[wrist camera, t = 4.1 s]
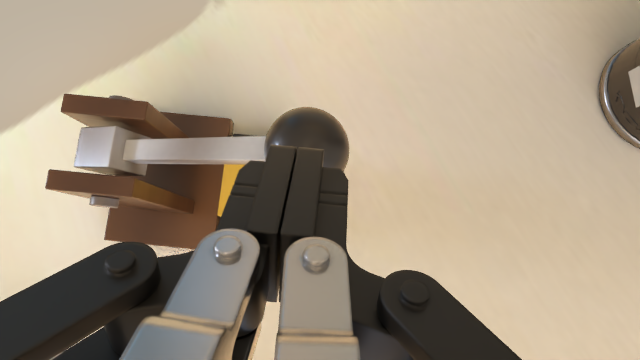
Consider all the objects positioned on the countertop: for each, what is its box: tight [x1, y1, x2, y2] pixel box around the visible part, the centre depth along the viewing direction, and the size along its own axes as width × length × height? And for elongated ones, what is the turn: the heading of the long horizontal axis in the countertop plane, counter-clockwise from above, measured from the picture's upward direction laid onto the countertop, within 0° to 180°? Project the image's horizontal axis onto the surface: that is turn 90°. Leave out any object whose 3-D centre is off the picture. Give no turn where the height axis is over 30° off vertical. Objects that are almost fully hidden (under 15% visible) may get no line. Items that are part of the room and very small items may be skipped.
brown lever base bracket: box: [45, 94, 234, 249], centre depth 28 cm, size 8×10×12 cm
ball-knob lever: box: [74, 107, 349, 176], centre depth 21 cm, size 15×4×4 cm, turn 85°
